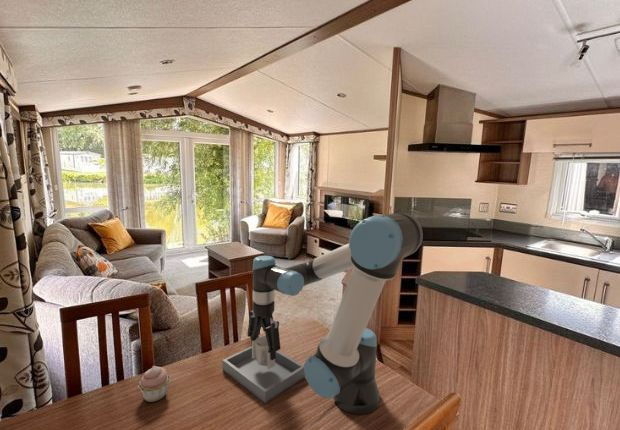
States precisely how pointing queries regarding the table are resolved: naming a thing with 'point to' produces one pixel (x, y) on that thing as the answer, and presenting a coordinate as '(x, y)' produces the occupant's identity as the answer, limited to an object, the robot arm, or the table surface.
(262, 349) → the cup
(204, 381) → the table surface
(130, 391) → the table surface
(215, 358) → the table surface
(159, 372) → the cupcake
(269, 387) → the box
